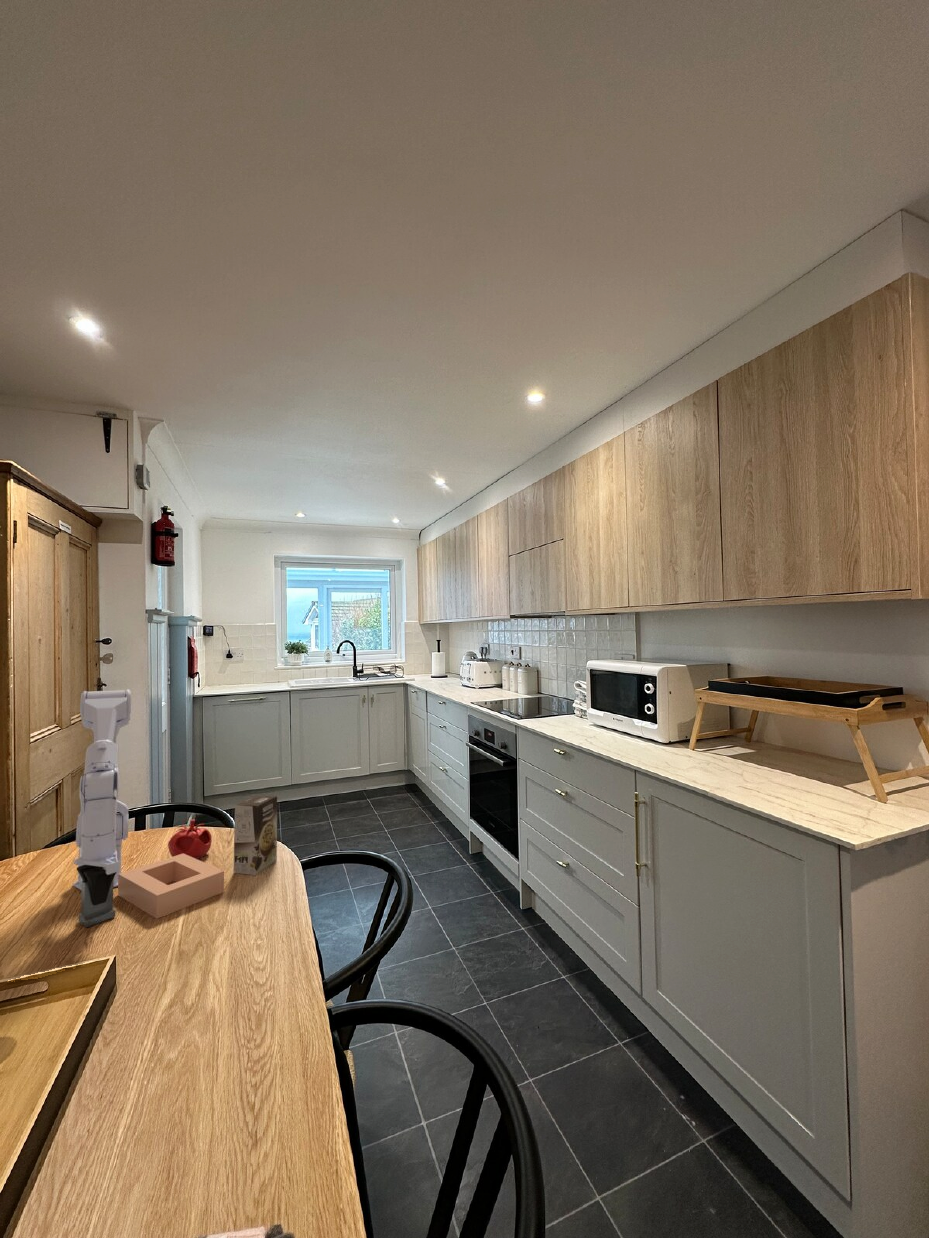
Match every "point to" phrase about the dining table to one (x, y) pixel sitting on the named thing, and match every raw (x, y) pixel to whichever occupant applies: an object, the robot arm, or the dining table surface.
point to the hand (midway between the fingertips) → (97, 901)
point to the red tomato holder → (190, 841)
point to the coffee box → (255, 834)
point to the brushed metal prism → (95, 907)
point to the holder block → (161, 899)
